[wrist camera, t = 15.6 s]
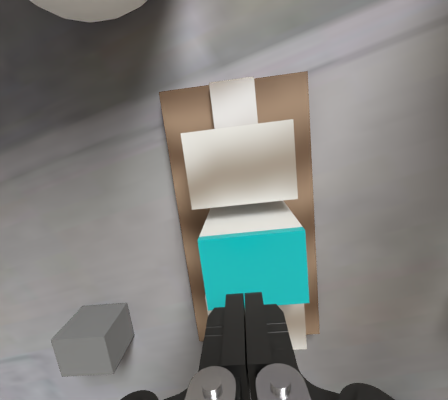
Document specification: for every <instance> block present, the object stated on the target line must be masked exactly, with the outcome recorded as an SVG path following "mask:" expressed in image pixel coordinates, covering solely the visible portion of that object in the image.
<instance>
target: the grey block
mask: <svg viewBox="0 0 448 400" xmlns="http://www.w3.org/2000/svg"><path fill="white" fill-rule="evenodd" d="M133 336H134V331H133V327H132V322H131V318H130V313H129V309H128V304H127V303H117V304H104V305H90V306H82V307H81V308H80V309H79V310H78V312H77V313H76V314H75V315H74V316H73V317H72V318H71V319H70V320H69V321H68V322H67V323H66V324H65V325H64V326H63V328H62V329H61V330H60V331H59V332H58V333H57V334H56V335H55V336H54V337H53V338H52V339H51V343H52V346H53V349H54V352H55V356H56V359H57V362H58V366H59V369H60V372H61V375H62V377H68V376H86V375H105V374H114V372H115V370H116V368H117V366H118V365H119V363H120V361H121V359H122V357H123V355H124V353H125V351H126V350H127V348H128V346H129V344H130V342H131V340H132V338H133Z"/></svg>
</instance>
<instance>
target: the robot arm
mask: <svg viewBox="0 0 448 400" xmlns="http://www.w3.org/2000/svg"><path fill="white" fill-rule="evenodd" d="M250 392H251V398H250ZM121 400H158V398H157V396H156V395H155V394H154V393H152V392H150V391H146V390H140V391H136V392H133V393H130V394H128V395H127V396H125V397H124V398H122V399H121ZM164 400H395V399H393V398H392V397H390V396H389V395H387V394H386V393H384V392H383V391H381V390H380V389H378V388H376V387H374V386H371V385H368V384H363V383H353V384H350V385H348V386H346V387H345V388H343V390H342V391H341V393H340V394H338V393H335V392H331V391H327V390H324V389H321V388H318V387H316V386H314V385H313V384H311V383H310V382H308V381H307V380H306V379H305V378H304V377H303V376H302V374H301V373H300V371H299V369H298V366H297V363H296V359H295V355H294V351H293V347H292V343H291V339H290V336H289V332H288V328H287V324H286V320H285V316H284V312H283V311H282V310H281V309H280V308H279V307H278V305H277V304H265V305H264V303H263V297H262V292H252V293H245V305H244V295H243V293H237V294H226V300H225V307H217V308H214V309H213V310H212V311H211V313H210V314H209V315H208V318H207V324H206V330H205V337H204V342H203V348H202V354H201V360H200V366H199V371H198V373H196V374H195V375H194V377H193V378H192V379H191V381H190V383H189V386H188V388H187V389H186V390H184V391H183V392H181V393H180V394H177V395H175V396H172V397H169V398H167V399H164Z"/></svg>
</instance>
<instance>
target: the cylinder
mask: <svg viewBox="0 0 448 400" xmlns="http://www.w3.org/2000/svg"><path fill="white" fill-rule="evenodd" d="M29 1H31V2H32V3H34V4H35V5H37V6H38V7H40V8H42V9H45V10H47V11H49V12H51V13H53V14H55V15H58V16H60V17H62V18H64V19H70V20H77V21H83V22H90V23H92V22H98V21H105V20H111V19H117V18H119V17H121V16H123V15H125V14H127V13H129V12H131V11H133V10H135V9H137V8H139V7H141V6H142V5H143V4H144V3H145V2H146V1H147V0H29Z"/></svg>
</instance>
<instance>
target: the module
mask: <svg viewBox="0 0 448 400" xmlns="http://www.w3.org/2000/svg"><path fill="white" fill-rule="evenodd" d="M197 241H198V248H199V254H200V261H201V267H202V274H203V280H204V287H205V294H206V300H207V307H208V311H209V310H213V309H214V308H217V307H225V300H226V294H237V293H243V295H244V305H245V293H252V292H262V297H263V303H264V305H265V304H277V305H290V304H303V303H309V286H308V268H307V251H306V234H305V229H304V228H303V227H302V225H301V224H300V222H299V221H298V220H297V218H296V217H295V216H294V214H293V213H292V212H291V210H290V209H289V208H288V206H287V205H286V204H285V202H284V201H273V202H263V203H254V204H244V205H234V206H224V207H215V208H210V211H209V213H208V216H207V218H206V221H205V223H204V226H203V228H202V231H201V233H200V235H199V238H198V240H197Z"/></svg>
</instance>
